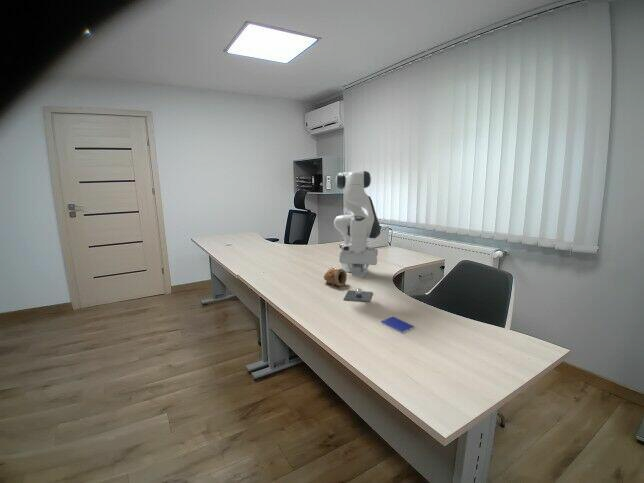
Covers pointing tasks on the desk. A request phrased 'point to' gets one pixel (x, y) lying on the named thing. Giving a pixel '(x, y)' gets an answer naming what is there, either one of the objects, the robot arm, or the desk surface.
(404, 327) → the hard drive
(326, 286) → the desk surface
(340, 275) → the clay pipe
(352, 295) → the duct plate
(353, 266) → the stepped gray block
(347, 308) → the desk surface
